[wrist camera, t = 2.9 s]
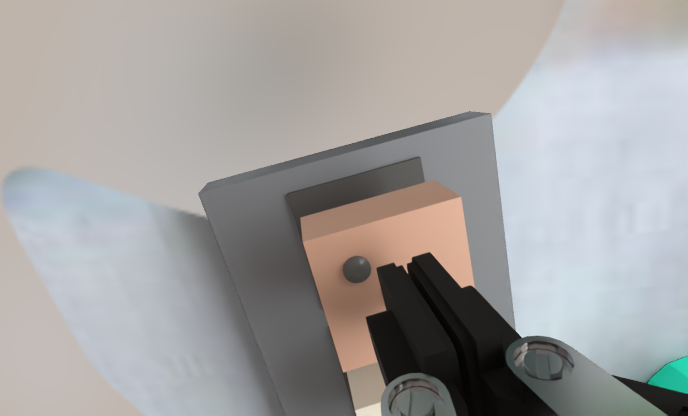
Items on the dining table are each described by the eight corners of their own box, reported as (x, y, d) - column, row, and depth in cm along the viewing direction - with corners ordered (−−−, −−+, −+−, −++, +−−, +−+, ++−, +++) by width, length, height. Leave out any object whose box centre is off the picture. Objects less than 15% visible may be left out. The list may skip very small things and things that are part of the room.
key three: (453, 295, 16) (483, 332, 13) (334, 331, 15) (343, 375, 13) (432, 180, 14) (463, 198, 12) (300, 217, 14) (303, 244, 11)
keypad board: (512, 436, 25) (532, 467, 23) (327, 497, 24) (331, 535, 22) (469, 111, 18) (493, 113, 16) (207, 182, 17) (197, 195, 15)
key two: (473, 417, 18) (503, 467, 16) (371, 450, 18) (384, 507, 15) (459, 330, 16) (488, 371, 14) (345, 365, 16) (355, 413, 14)
